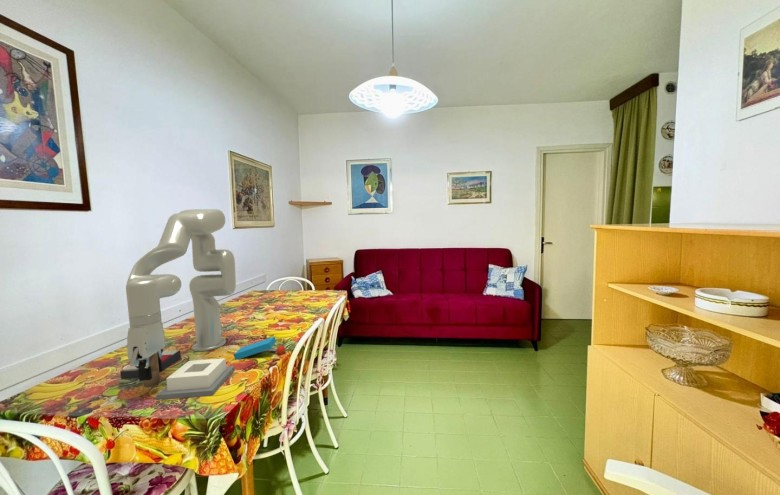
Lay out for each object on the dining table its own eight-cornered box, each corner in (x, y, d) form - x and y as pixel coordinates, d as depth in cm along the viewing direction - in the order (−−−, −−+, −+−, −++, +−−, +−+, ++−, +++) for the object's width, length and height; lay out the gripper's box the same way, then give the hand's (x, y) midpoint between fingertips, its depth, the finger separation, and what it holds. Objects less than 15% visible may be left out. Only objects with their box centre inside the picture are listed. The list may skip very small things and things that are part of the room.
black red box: (119, 369, 100) (151, 349, 115) (120, 381, 101) (153, 360, 115) (152, 368, 101) (180, 348, 116) (153, 379, 101) (181, 358, 116)
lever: (239, 370, 114) (283, 356, 115) (233, 354, 113) (277, 340, 114) (246, 363, 121) (288, 349, 122) (241, 347, 120) (283, 333, 121)
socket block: (187, 373, 103) (186, 358, 102) (234, 370, 104) (233, 355, 104) (156, 399, 87) (154, 382, 86) (212, 395, 89) (211, 377, 88)
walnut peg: (149, 381, 93) (146, 351, 92) (163, 379, 93) (160, 350, 92) (140, 388, 89) (137, 356, 88) (154, 386, 89) (151, 355, 88)
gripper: (151, 311, 97) (156, 363, 99) (109, 329, 80) (116, 392, 82) (175, 310, 98) (180, 362, 99) (138, 328, 81) (144, 390, 83)
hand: (151, 375), depth 91 cm, fingers closed on walnut peg, 4 cm apart
